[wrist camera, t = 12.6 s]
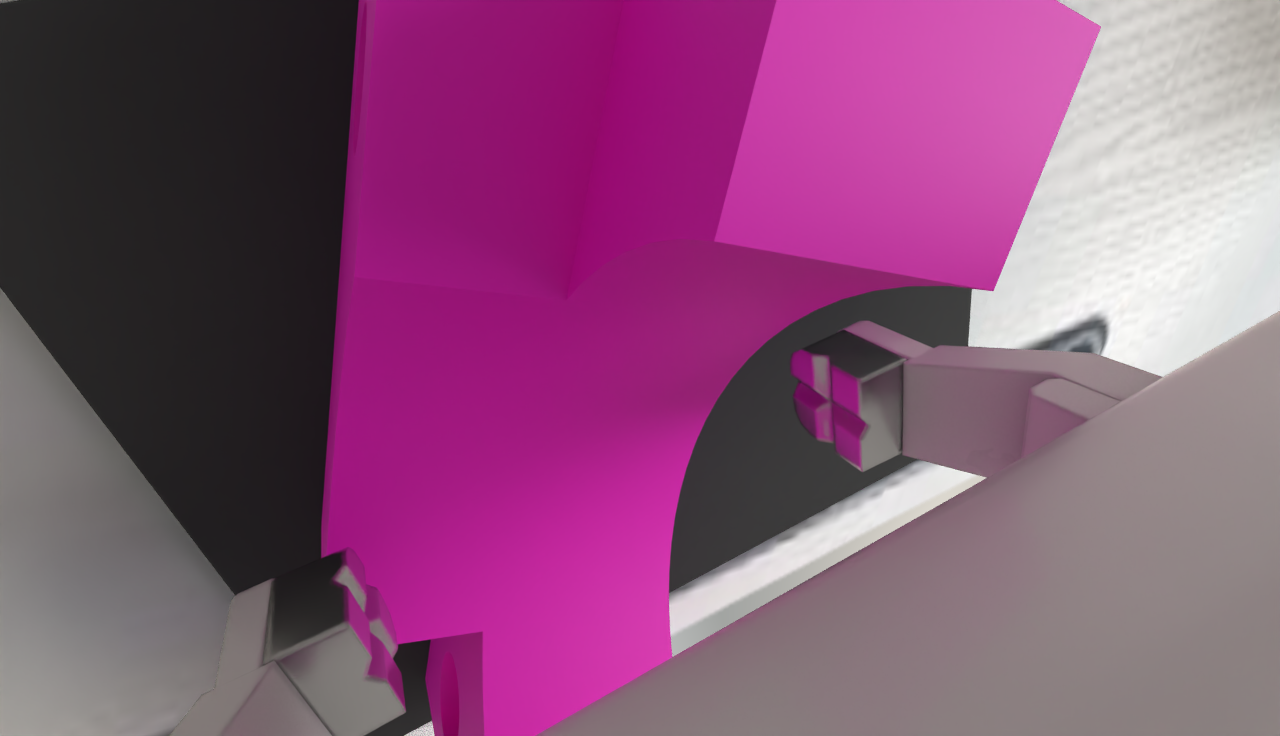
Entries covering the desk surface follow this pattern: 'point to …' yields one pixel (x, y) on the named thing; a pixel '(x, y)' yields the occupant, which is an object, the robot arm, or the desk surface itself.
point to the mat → (290, 281)
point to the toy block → (627, 282)
